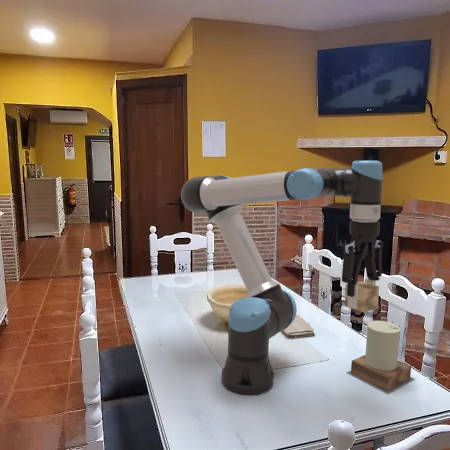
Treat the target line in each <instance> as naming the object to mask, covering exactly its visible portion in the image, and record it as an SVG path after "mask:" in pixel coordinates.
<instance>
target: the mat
mask: <svg viewBox="0 0 450 450" xmlns="http://www.w3.org/2000/svg"><path fill="white" fill-rule="evenodd" d="M346 374H347V375H349V376H351V377H353V378H355V379H358V381H361V382H363V383H364V384H367V385H369V386H371V387H373V388H375V389H376V390H379V391H381V392H383V393H385V394H386V395H390V394H392V392H395V391H397V390H399V389H400V388H402V387H403V386H405V385H408V384H409V383H411V382H412V381H414V380H415V377H412V376H410V379H408V380H406V381H405V382H403V383H401V384H399V385H397V386H396V387H394V388H392V389H390V390H388V391H385V390H383V389H381V388H379V387H377V386H375V385H373V384H371V383H369V382H367V381H365V380H363V379H361V378H359V377H357V376H355V375H353V374H352V373H351V370H349V371H346Z"/></svg>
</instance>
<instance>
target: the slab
mask: <svg viewBox="0 0 450 450" xmlns="http://www.w3.org/2000/svg"><path fill="white" fill-rule="evenodd" d="M365 355H366V354H364V355H362V356H360V357H356V358H355V359H352V360H351V366H350V371H351V373H352V374H353V375H355V376H357V377H359V378H361V379H363V380H365V381H367V382H369V383H371V384H373V385H375V386H377V387H379V388H381V389H383V390H385V391H388V390H390V389H392V388H394V387H396V386H397V385H399V384H401V383H403V382H405V381H406V380H408V379H410V377H411V372H412V365H410V364H408V363H406V362H403V361H401V360H399V359H398V360H397V364H398V367H397V368H396V369H395V370H392V371H382V370H377V369H374V368H372V367H370V366H368V365H367V364H366V363H365Z"/></svg>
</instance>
